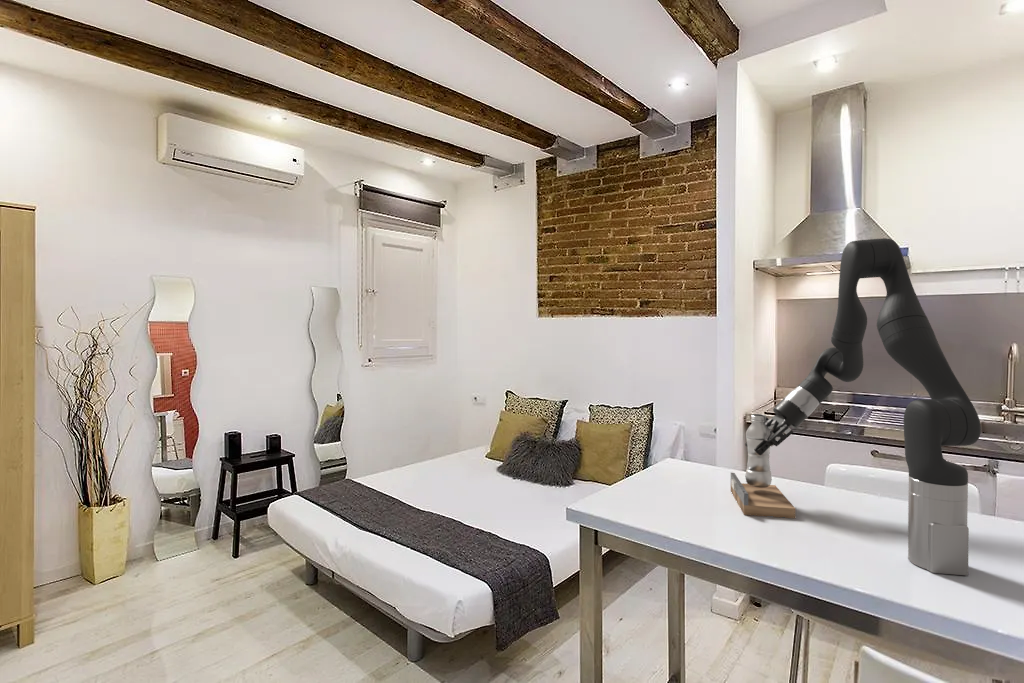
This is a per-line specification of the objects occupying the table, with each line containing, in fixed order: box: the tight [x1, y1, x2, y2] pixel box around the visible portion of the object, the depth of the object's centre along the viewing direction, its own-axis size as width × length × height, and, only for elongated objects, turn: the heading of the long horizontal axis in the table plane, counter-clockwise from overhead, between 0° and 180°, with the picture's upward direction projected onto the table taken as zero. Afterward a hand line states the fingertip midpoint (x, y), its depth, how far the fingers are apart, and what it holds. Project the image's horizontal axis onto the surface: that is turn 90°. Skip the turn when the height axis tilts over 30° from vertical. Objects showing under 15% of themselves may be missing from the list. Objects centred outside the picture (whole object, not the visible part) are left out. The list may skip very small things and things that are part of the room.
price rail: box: [730, 472, 748, 505], centre depth 144 cm, size 20×2×3 cm, turn 166°
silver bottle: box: [745, 413, 773, 488], centre depth 145 cm, size 6×7×20 cm
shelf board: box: [730, 482, 796, 519], centre depth 142 cm, size 20×12×2 cm, turn 166°
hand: (752, 449), depth 145 cm, fingers closed on silver bottle, 6 cm apart
